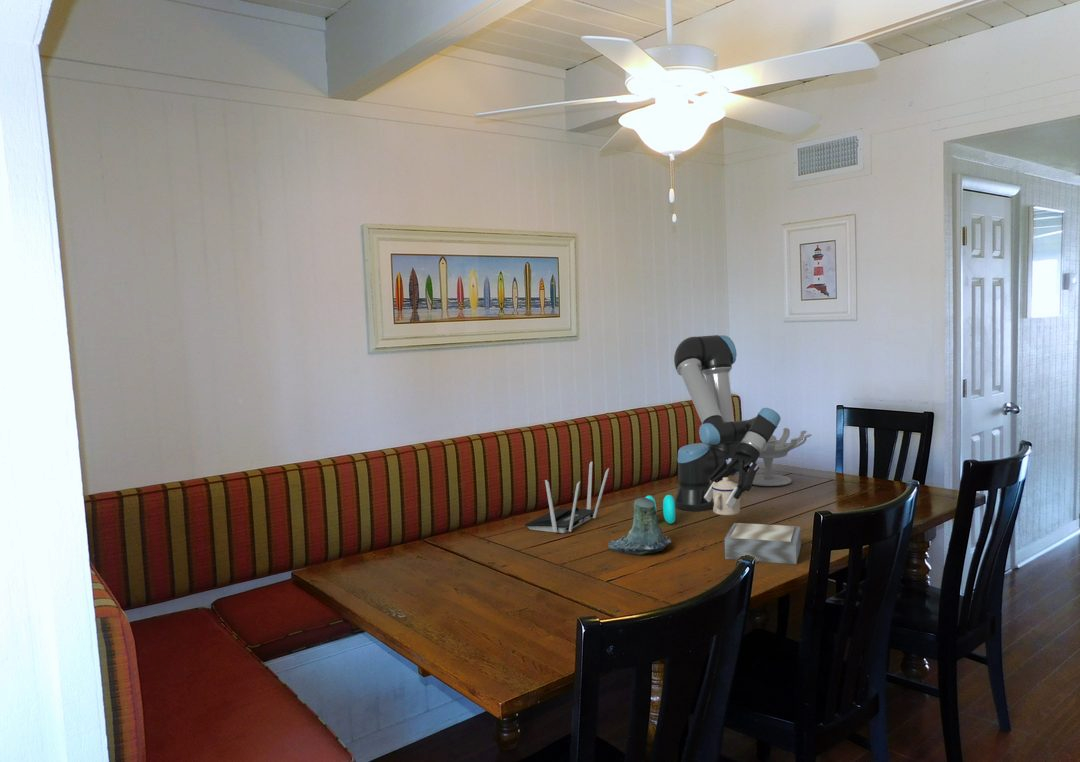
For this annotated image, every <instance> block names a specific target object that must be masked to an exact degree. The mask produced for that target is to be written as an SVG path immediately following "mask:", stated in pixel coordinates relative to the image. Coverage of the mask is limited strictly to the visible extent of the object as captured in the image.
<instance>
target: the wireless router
mask: <svg viewBox="0 0 1080 762" xmlns="http://www.w3.org/2000/svg"><path fill="white" fill-rule="evenodd" d="M588 466H589V467H588V480H587V481H588V482H587V498H586V508H578V507H577V504H578V498H579V497H578V496H579V491H580V485H581V480H579V481H578V482H577V483H576V487H575V492H574V498H573V502H572V503H573V504H572V507H570V508H558V509H554V503H553V499H552V493H551V488H550V483H549V481H548V479H544V483H545V489H546V494H547V501H548V506H549V507H548V508H549V512H548V513H546V514H544V515H542V516H539V517H537V518H535V519H533V520H531V521H529V522H527V523H525V524H524V527H526V528H528V529H529V530H531V531H532V530H533V531H539V532H540V531H541V532H548V533H556V534H557V533H558V534H565V533H569V532H570V533H571V532H572V531H573V529H575V528H577V527H578V526H580V525H583V523H586V522H588V521H589V520H591V519H596V518H597V515H598V512H599V507H600V505H601V500H602V497H603V495H604V494H603V493H604V490H605V486H606V482H607V478H608V475H609V471H610V467H608V468H607V469H606V471H605V472H604V476H603V478H602V479H603V480H602V482H601V483H602V484H601V487H600V489H599V490H600V491H599V494H598V497H597V502H596V504H595V509H591V506H592V485H593V483H592V482H593V461H590V462H589V465H588Z"/></svg>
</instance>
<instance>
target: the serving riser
mask: <svg viewBox="0 0 1080 762" xmlns="http://www.w3.org/2000/svg"><path fill="white" fill-rule="evenodd" d="M801 527H802V526H795V525H780V524H763V523H762V524H760V523H746V522H745V523H743V522H738V523H737V522H734V523H733V524H732V526H731V528H729V531H728V532H727V534H726V536H725V537H724V558H725V560H737V561H739V560H738V559H739V558H740V557H741V556H745V555H750V556H753V557H755V559H756V561H755V562H764V563H775V564H788V565H789V564H790V565H797V563H798V559H799V556H800V550H801V547H802V541H801V540H802V538H801V537H802V535H801V533H802V532H801V530H802V529H801Z"/></svg>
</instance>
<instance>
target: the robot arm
mask: <svg viewBox="0 0 1080 762" xmlns="http://www.w3.org/2000/svg"><path fill="white" fill-rule="evenodd" d="M675 349H676V350H675V351H674V357H673V363H674V368H675V371H676V372H677V374H678V375H679V376H681V378H682V380H683V383H684V385H685V387H686V389H687V391H688V394H689V396H690V399H691V401H692V403H693V405H694V408H695V410H696V413H697V415H698V417H699V421H700V422H701V425H700V426H699V429H698V433H699V439H700V441H701V442H698V443H691V444H690V443H689V444H685V445H684V446H681V447H679V449H678V451H677V476H678V487H677V491H676V495H675V498H674V502H675V509H678V510H682V511H690V512H694V511H695V512H698V511H699V512H700V511H708V510H712V509H713V489H712V485H713V484H714V483H717V482H719V481H721V480H723V478H724V477H728V478H729V477H730V476H731V477H732V476H736V475H739V476H738V483H737V484H738V486H737V487H738V488H737V487H735V488H734V490H733V491H732V493H731V495H730V496H729V498H728V500H727V501H726V504H727V505H728V507H729V508H732V507H733V505H734V503H735V502H736V500H737V499H739V497H740V498H741V496H742V494H743V493H745V491H746V492H750V491H751V488H752V485H753V484H752V483H753V480H754V477H755V475H757V474H756V473H757V472H758V470H759V469H760V466H759V465H758V464H757V463H756V462H757V461H758V459H759V458H758V457H759V456H760V453H761V452H762V451H763V449H764V447H765V446H766V444H767V442H768V441H769V439H770V437H771V436H772V435H774V433H775V431H776V429H777V428H778V427H779V424H780V422H781V416H780V414H779V413H778V412H776V411H775V410H774V409H772V408H770V407H762V408H761V409H760V411H759V412H757V415H756V416H755V417H753V418H750V419H745V420H744V419H743V420H736V421H735V417H734V407H733V400H732V399H733V398H732V392H731V391H732V390H731V384H730V383H731V382H730V375H729V373H730V372H731V370H732V369H733V367H732V366H733V365H734V364H735V363H736V361H737V356H738V355H737V349H736V345H735V343H734V341H733V340H732V339H731V338H730V337H729V336H728V335H726V334H725V335H718V334H716V335H715V334H714V335H702V336H701V335H700V336H689V337H686V338H685V339H683V340H682V341H681V342H680V343H679V344H678V346H677V347H676V348H675Z"/></svg>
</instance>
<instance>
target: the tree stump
mask: <svg viewBox="0 0 1080 762" xmlns="http://www.w3.org/2000/svg"><path fill="white" fill-rule="evenodd" d="M655 503H656V502H655ZM655 503H654V501H652V500H651V499H648V498H645V497H637V498H635V500H634V503H633V520H632V521H633V523H632V527H631V529H630V530H629V531H628V534H627V535H626V534H624V535H622V536H621V538H616V539H613V540H611V541H608V544H607V547H608V549H609V550H610V551H613V552H616V553H621V554H625V555H633V556H643V555H649V554H654V553H659V552H662V551H663V550H664V549H665V548H666V547H667V546H668V545H669V544H671V543H672V539H671V538H670V537H669V536H667V535H665V536H664V533H663V529H662V528H661V526H660V525H659V520H658V516H657V515H658V514H657V508H656V509H655Z"/></svg>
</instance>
